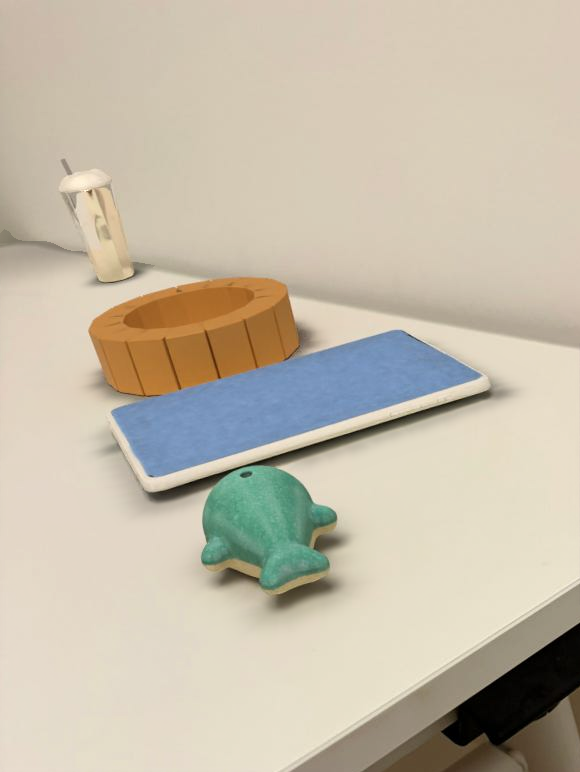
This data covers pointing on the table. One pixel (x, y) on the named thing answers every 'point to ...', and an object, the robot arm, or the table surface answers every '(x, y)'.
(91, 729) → the table surface
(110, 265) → the milkshake
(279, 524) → the whale figurine
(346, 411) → the tablet
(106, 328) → the segmented bracelet
